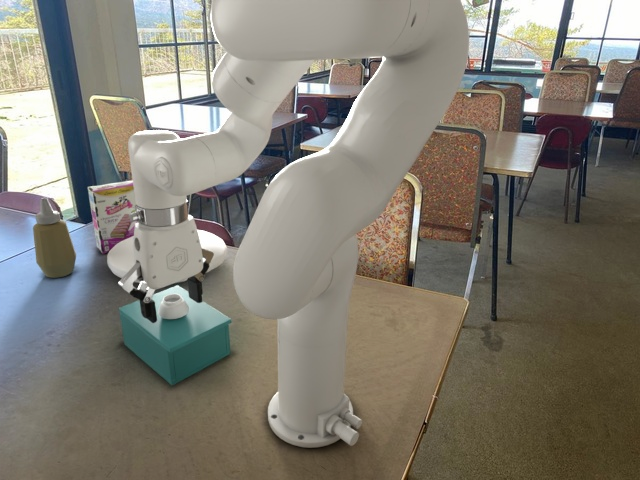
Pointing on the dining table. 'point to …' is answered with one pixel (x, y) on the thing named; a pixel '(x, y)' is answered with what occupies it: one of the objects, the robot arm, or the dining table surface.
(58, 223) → the squeeze bottle
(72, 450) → the dining table surface
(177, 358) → the box
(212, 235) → the plate
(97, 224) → the candy bar box
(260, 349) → the dining table surface
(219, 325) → the lunchbox lid
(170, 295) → the white jar
